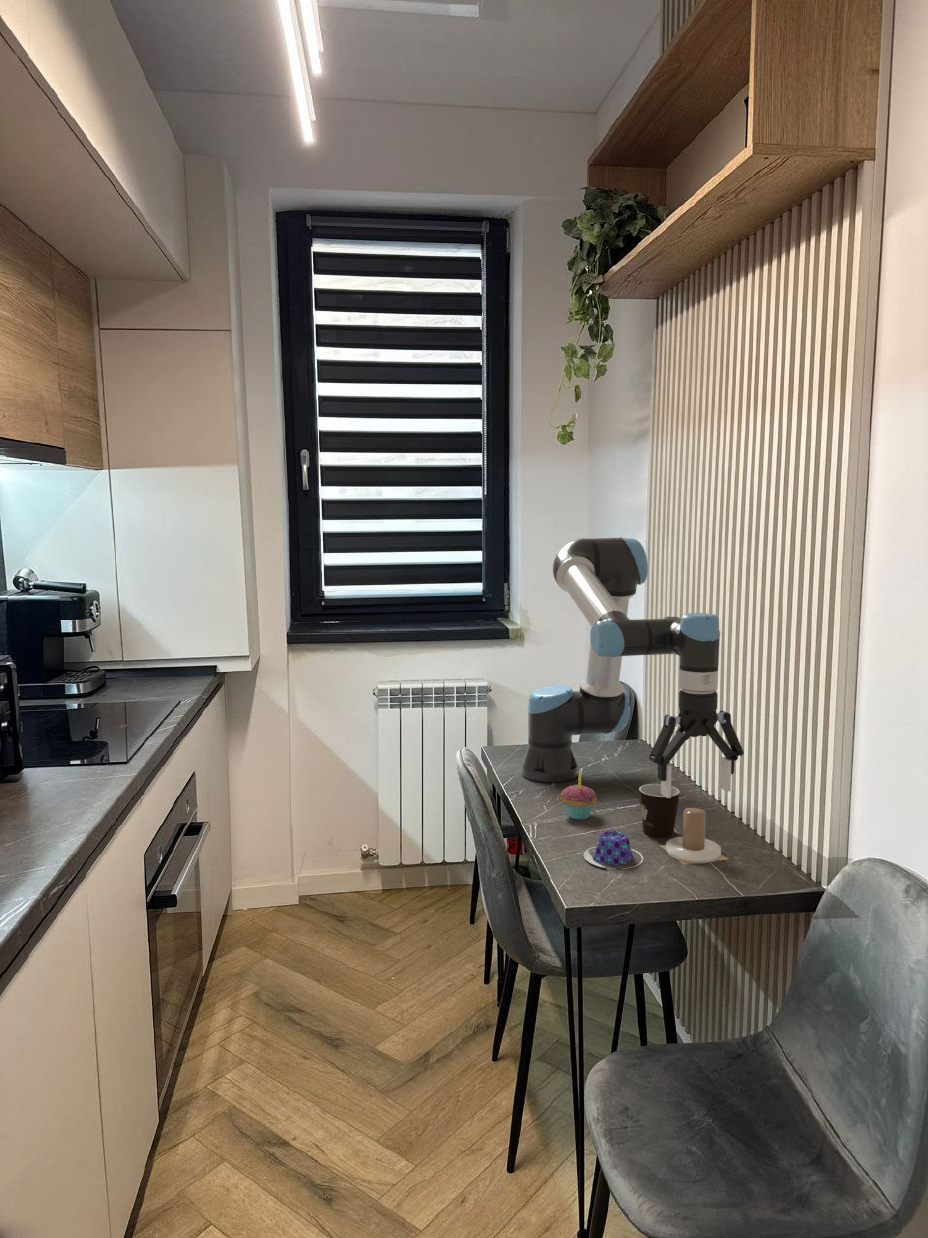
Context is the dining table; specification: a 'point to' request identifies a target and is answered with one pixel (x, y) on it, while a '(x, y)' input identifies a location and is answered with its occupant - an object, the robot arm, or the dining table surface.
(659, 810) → the coffee mug
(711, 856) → the lid
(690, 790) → the dining table surface
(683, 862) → the cork mat
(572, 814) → the cupcake
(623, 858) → the pudding
